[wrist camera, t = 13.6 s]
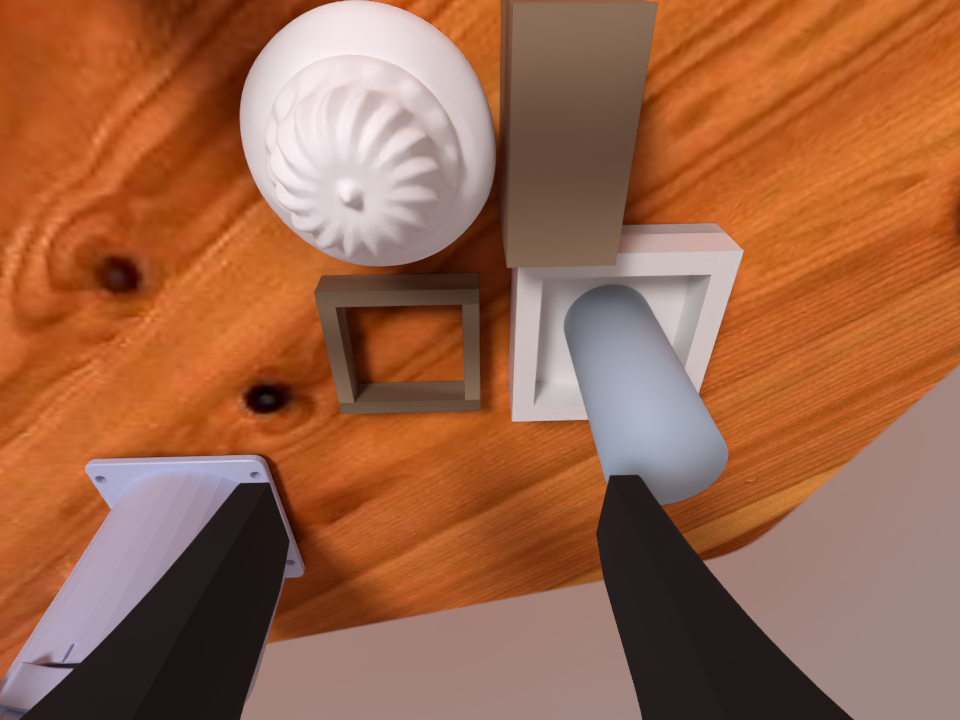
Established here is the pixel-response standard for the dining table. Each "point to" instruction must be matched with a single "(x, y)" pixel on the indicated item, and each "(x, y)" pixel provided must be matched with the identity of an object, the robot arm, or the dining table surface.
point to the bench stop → (569, 126)
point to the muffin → (368, 133)
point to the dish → (640, 265)
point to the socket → (399, 292)
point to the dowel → (640, 396)
